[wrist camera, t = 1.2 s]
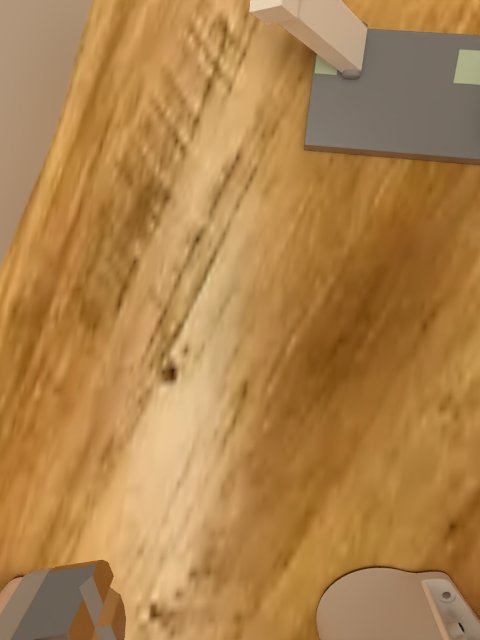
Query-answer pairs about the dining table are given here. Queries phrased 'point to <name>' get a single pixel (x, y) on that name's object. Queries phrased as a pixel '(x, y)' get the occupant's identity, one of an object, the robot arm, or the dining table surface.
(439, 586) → the robot arm
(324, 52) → the on lever
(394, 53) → the panel
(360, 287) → the dining table surface
